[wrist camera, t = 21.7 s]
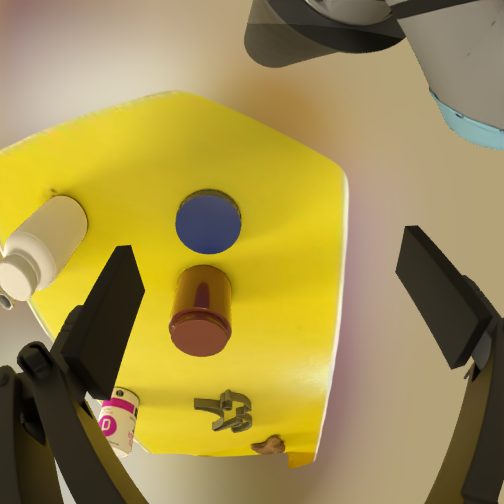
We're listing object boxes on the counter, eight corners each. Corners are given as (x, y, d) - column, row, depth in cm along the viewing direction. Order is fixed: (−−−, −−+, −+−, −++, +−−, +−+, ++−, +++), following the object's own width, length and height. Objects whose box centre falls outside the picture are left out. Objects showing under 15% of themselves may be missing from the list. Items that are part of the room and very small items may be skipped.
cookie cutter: (189, 394, 60) (188, 402, 59) (242, 387, 59) (243, 395, 58) (215, 428, 70) (215, 434, 68) (261, 422, 69) (261, 429, 67)
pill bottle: (76, 253, 41) (32, 321, 28) (37, 223, 38) (-17, 281, 25) (98, 216, 38) (48, 281, 25) (56, 183, 35) (-8, 236, 22)
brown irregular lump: (280, 433, 73) (281, 444, 70) (286, 444, 78) (287, 455, 75) (245, 439, 74) (246, 450, 71) (254, 450, 79) (255, 460, 76)
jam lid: (181, 184, 37) (179, 189, 35) (247, 196, 38) (247, 201, 37) (174, 242, 41) (171, 249, 39) (233, 251, 42) (234, 259, 41)
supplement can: (99, 386, 59) (85, 442, 46) (128, 385, 58) (116, 444, 46) (117, 405, 63) (107, 457, 50) (145, 404, 63) (137, 459, 50)
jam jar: (228, 263, 43) (228, 314, 34) (233, 306, 47) (234, 358, 38) (173, 266, 43) (160, 317, 34) (182, 308, 47) (174, 360, 38)
